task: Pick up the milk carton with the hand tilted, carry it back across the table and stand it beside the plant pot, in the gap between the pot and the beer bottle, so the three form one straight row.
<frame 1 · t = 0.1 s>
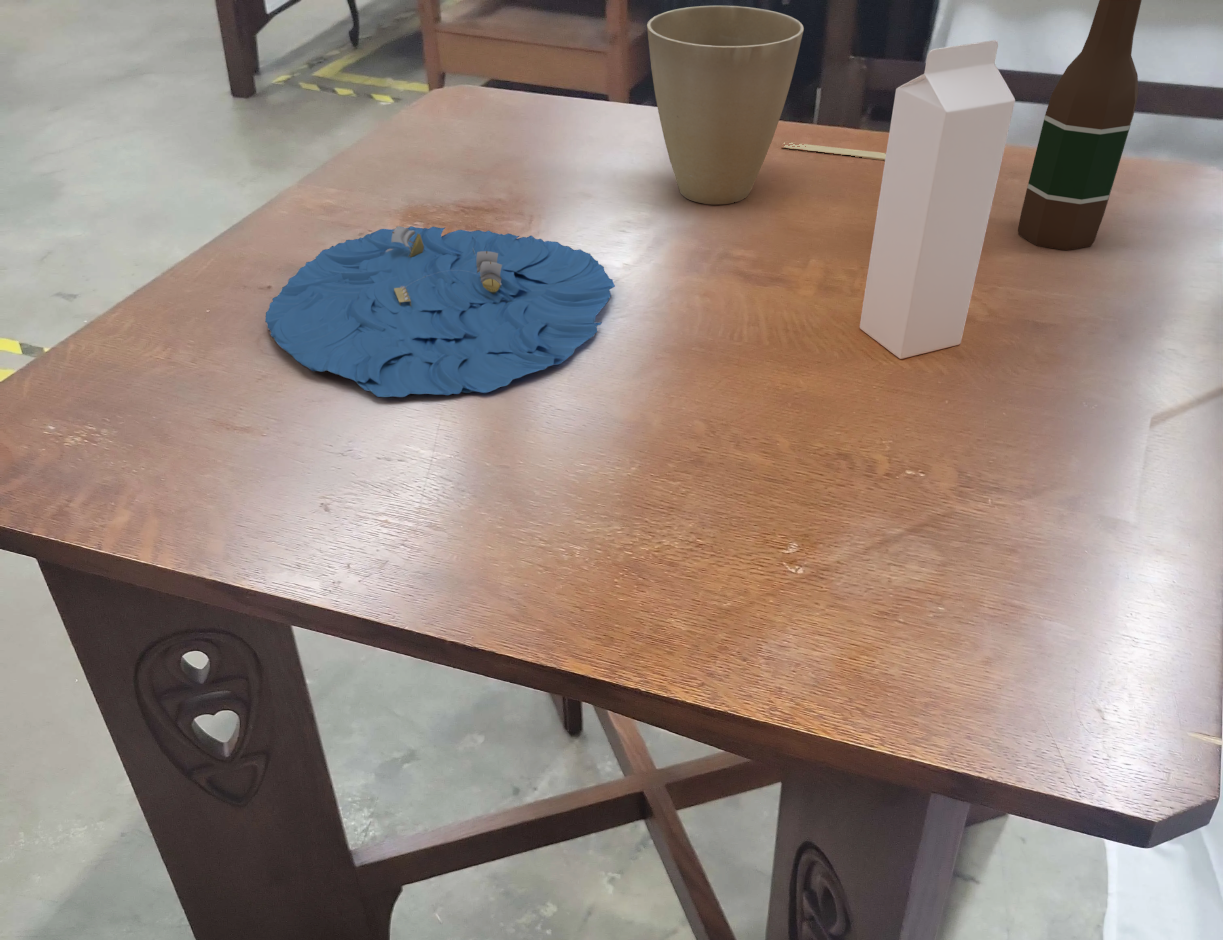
plant pot: (716, 193, 113), on the table
blue crumpled disc: (449, 313, 93), on the table
milk: (908, 338, 89), on the table
chopstick: (887, 157, 119), on the table
beer bottle: (1056, 236, 103), on the table
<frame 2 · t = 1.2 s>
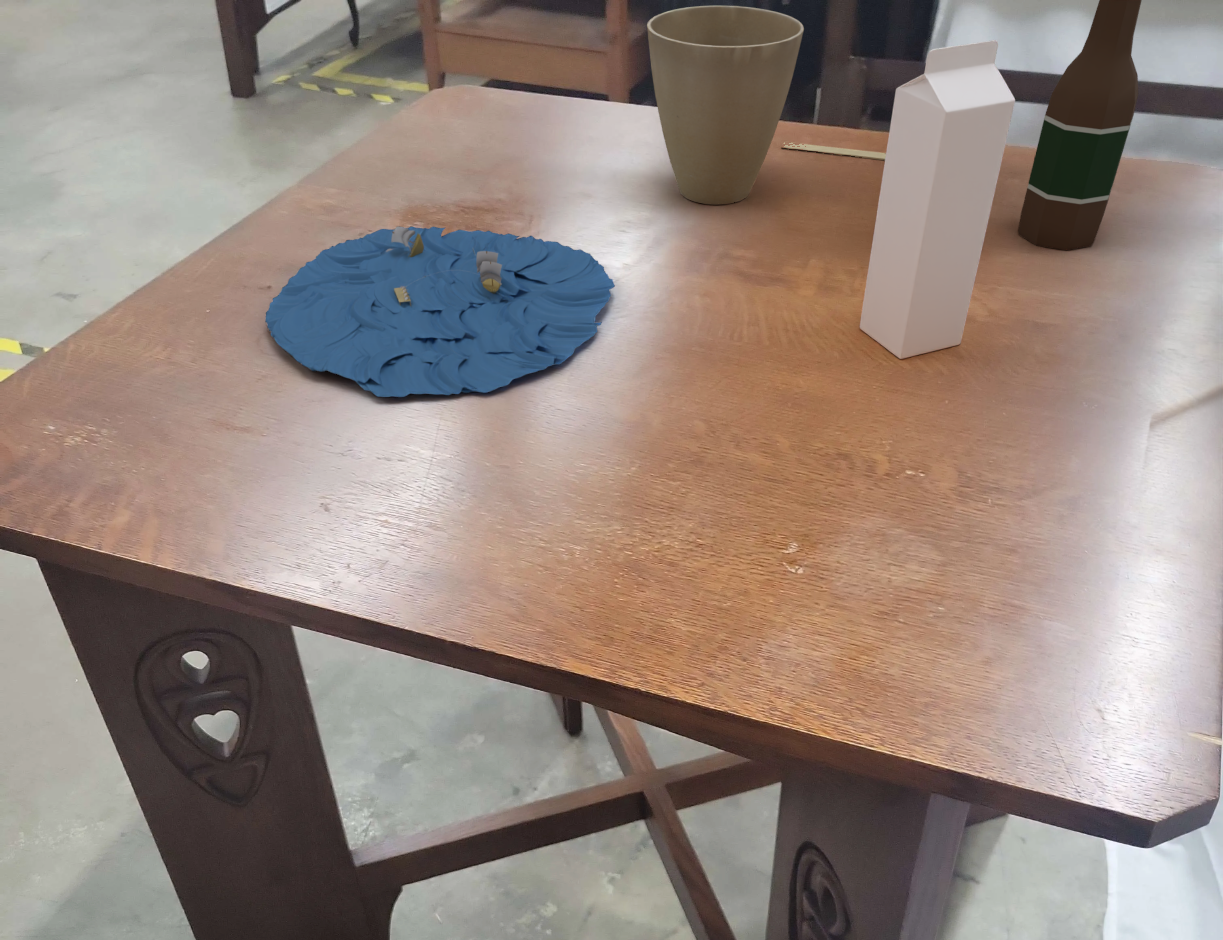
nothing on the table moved.
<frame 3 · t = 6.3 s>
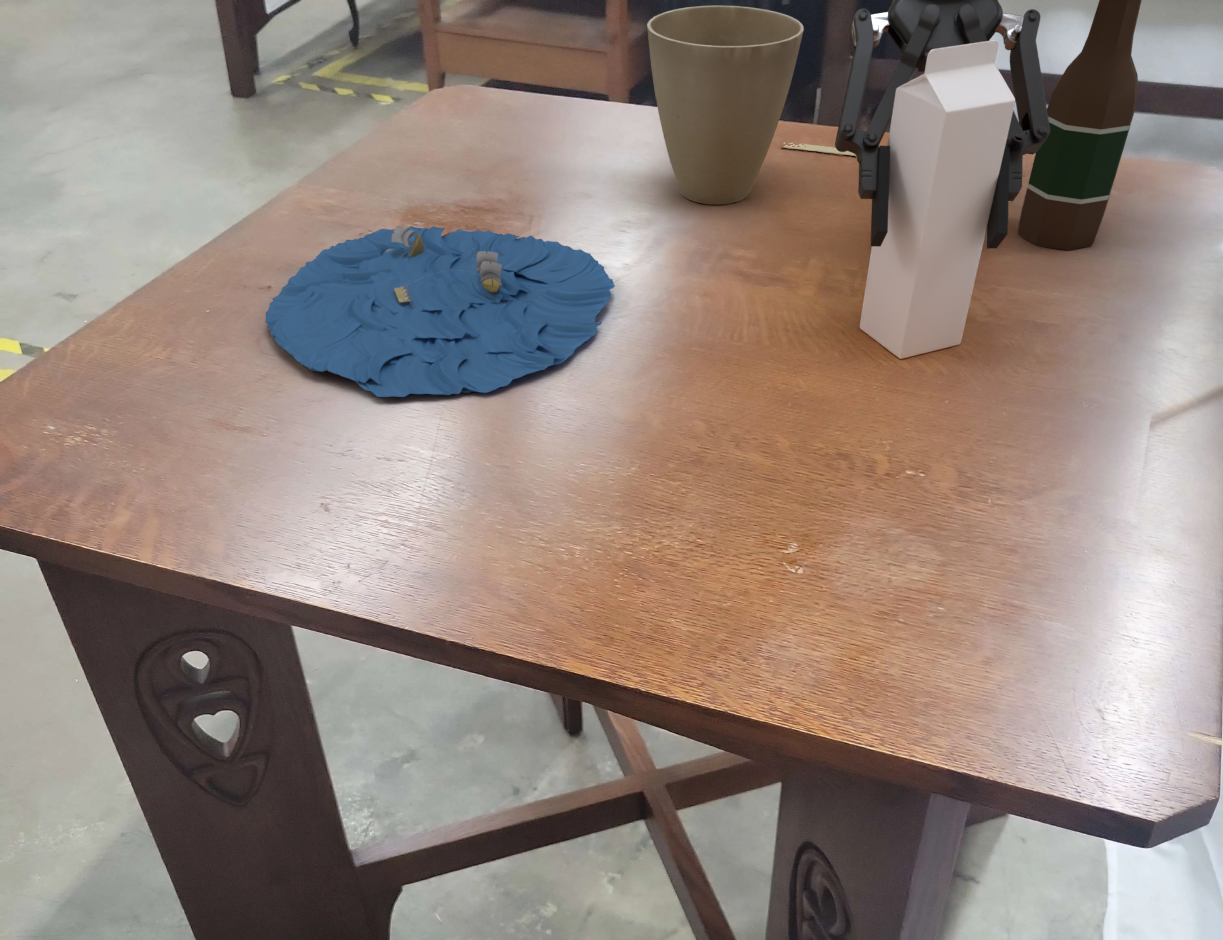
hand: (937, 239, 79), 10 cm above the table, tool tilted 45°, fingers closed on milk, 8 cm apart
milk: (908, 338, 89), on the table, touching gripper
everything else where it was.
when the fingers open (10 cm above the table, at t = 15.8 s): milk stays where it is, on the table.
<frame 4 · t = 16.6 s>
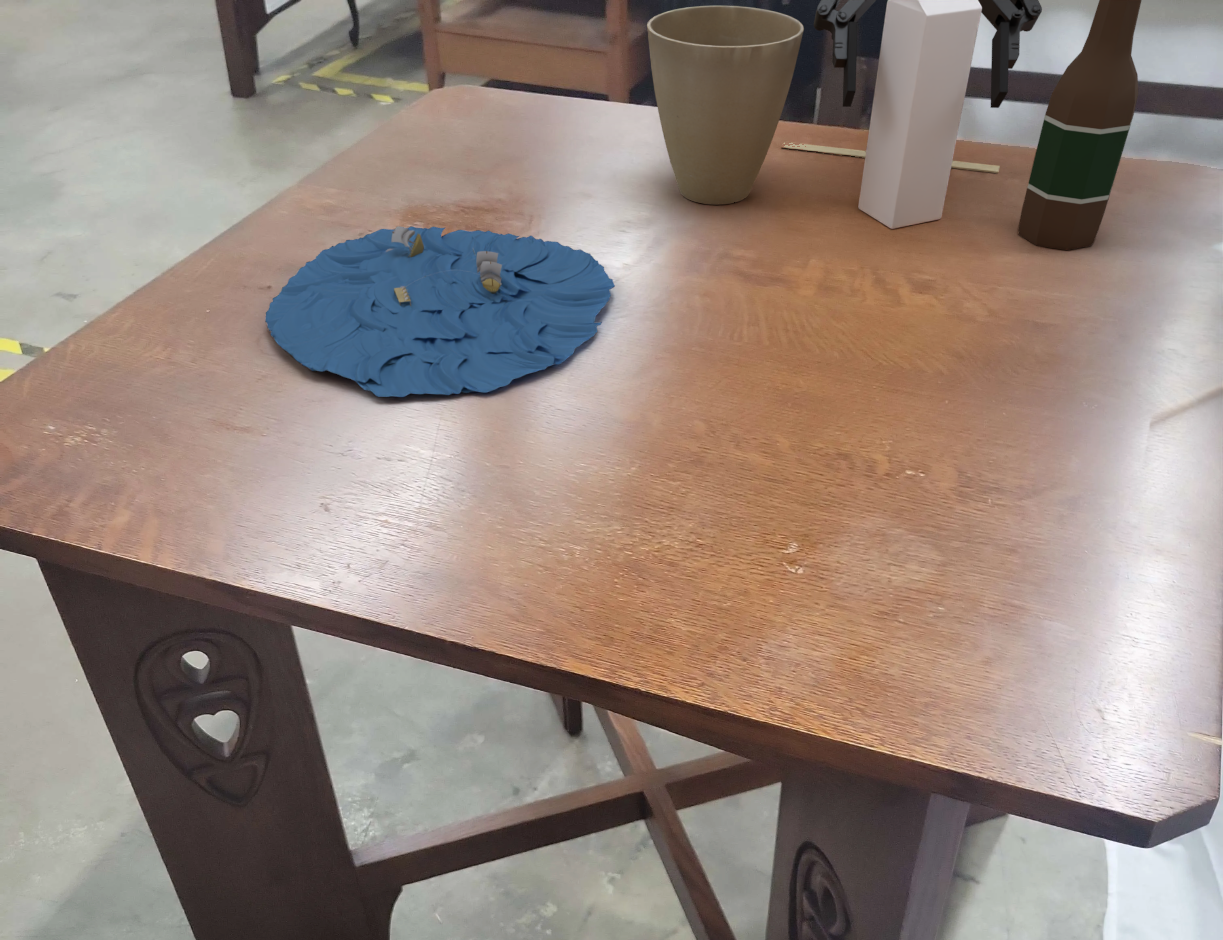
hand: (923, 100, 98), 11 cm above the table, tool tilted 45°, fingers open, 13 cm apart
milk: (898, 215, 108), on the table
everything else where it was.
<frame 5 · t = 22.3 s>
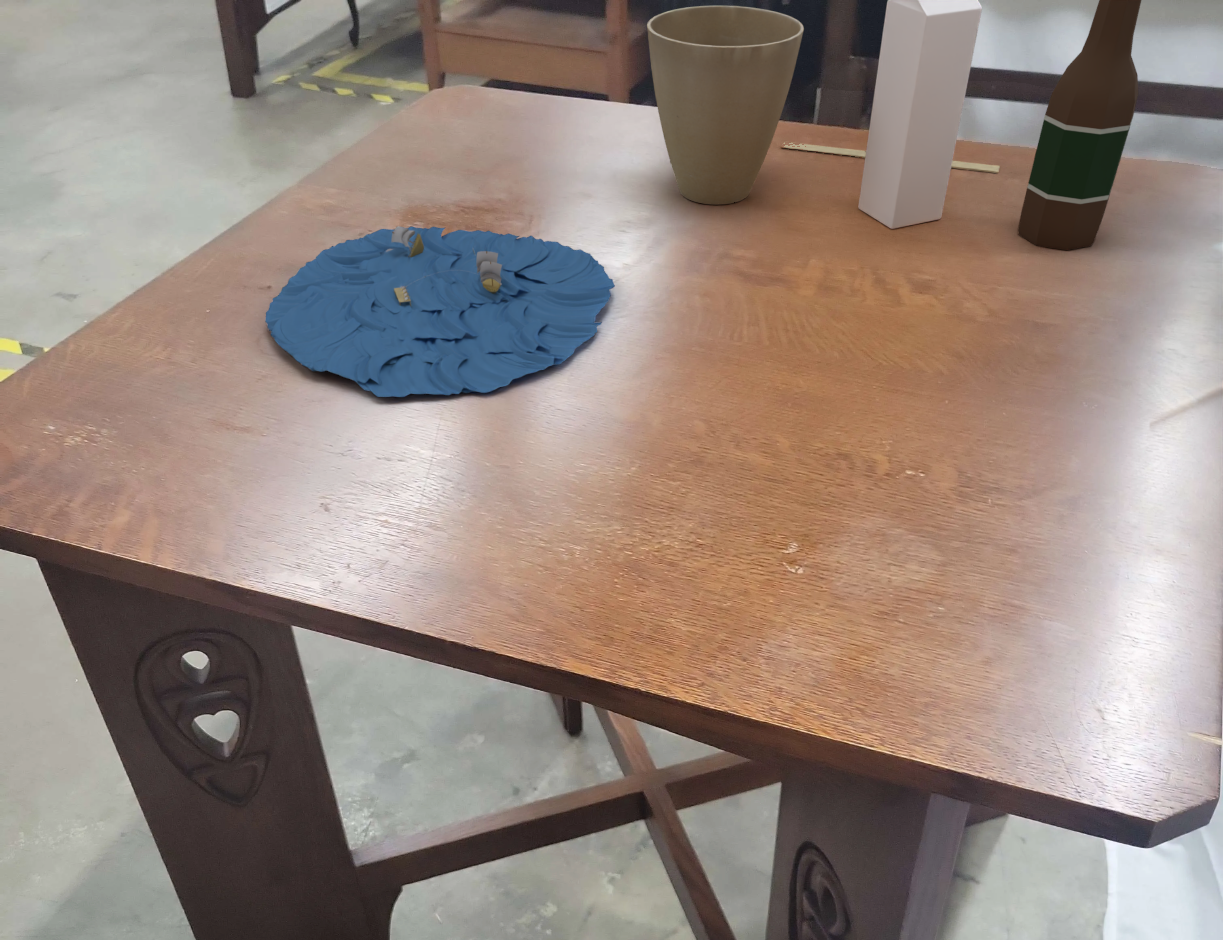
nothing on the table moved.
at the end: milk 0.1 cm from the target spot on the table beside the plant pot, on the table; milk tilted 0°; the gripper is holding nothing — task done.
